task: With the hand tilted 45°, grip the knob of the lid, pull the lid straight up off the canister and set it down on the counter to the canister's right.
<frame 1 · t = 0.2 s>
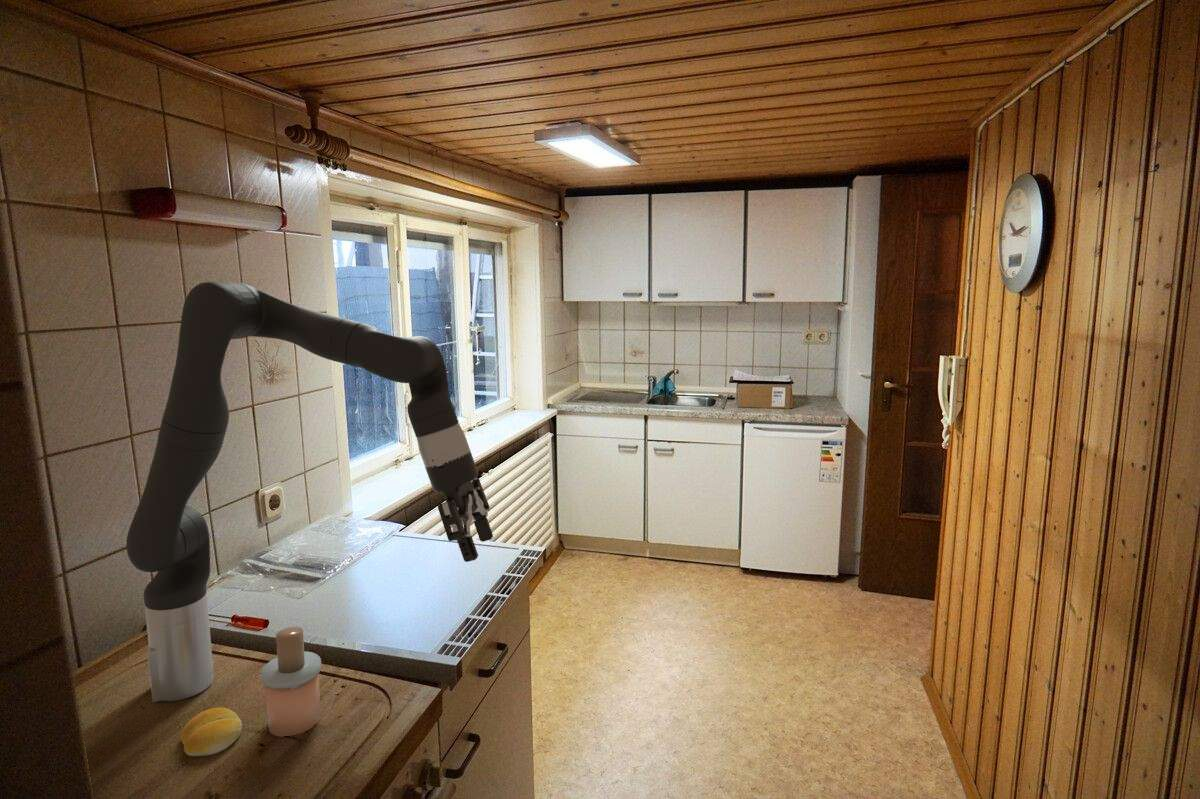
hand: (479, 549, 104), 31 cm above the countertop, tool tilted 20°, fingers open, 8 cm apart
bread roll: (211, 740, 103), on the countertop
lid: (292, 677, 106), point 8 cm above the countertop, touching canister
canister: (294, 720, 107), on the countertop
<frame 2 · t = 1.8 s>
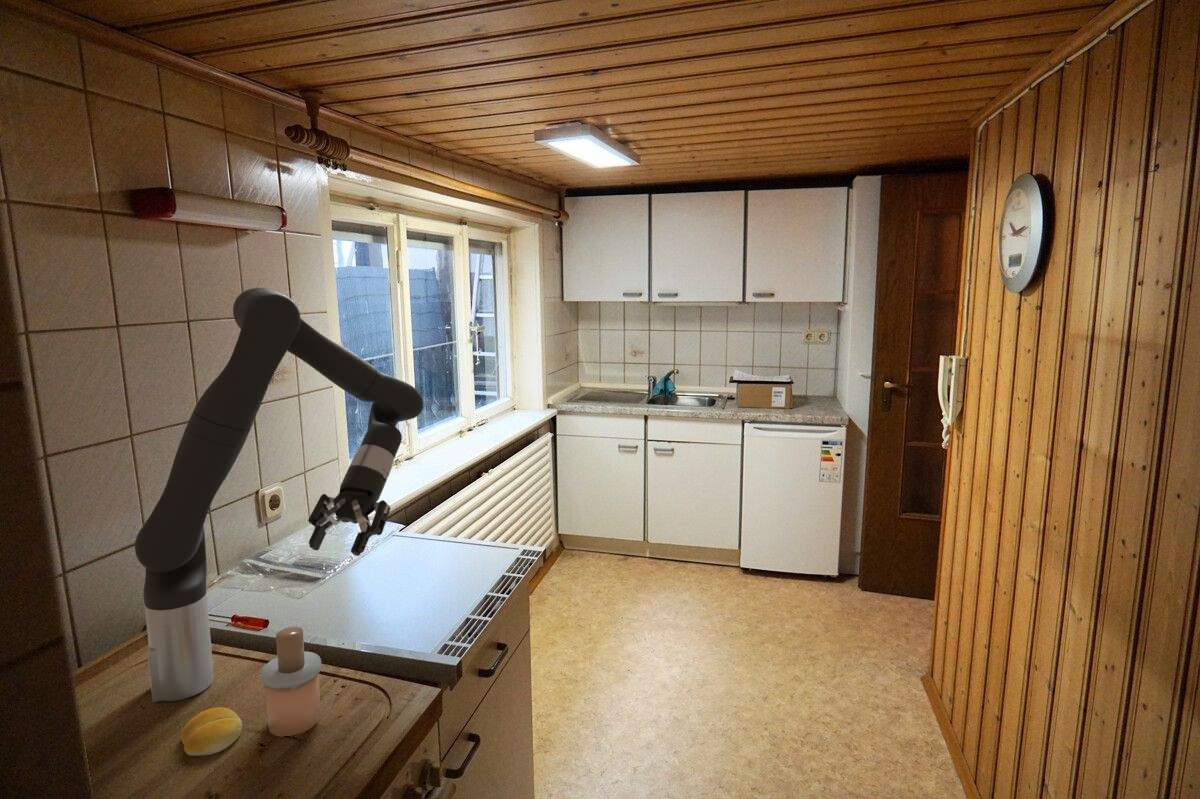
hand: (333, 551, 115), 25 cm above the countertop, tool tilted 45°, fingers open, 8 cm apart
nothing on the countertop moved.
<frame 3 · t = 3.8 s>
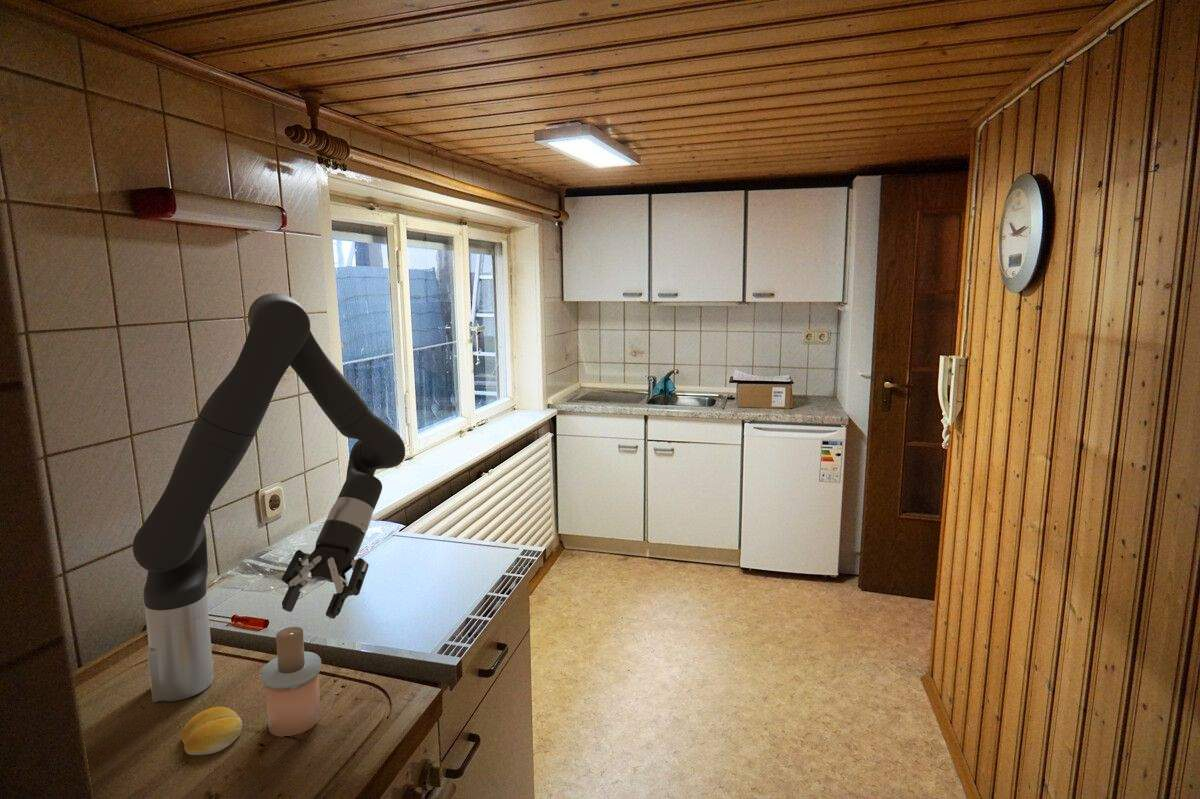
hand: (308, 613, 109), 17 cm above the countertop, tool tilted 45°, fingers open, 8 cm apart
nothing on the countertop moved.
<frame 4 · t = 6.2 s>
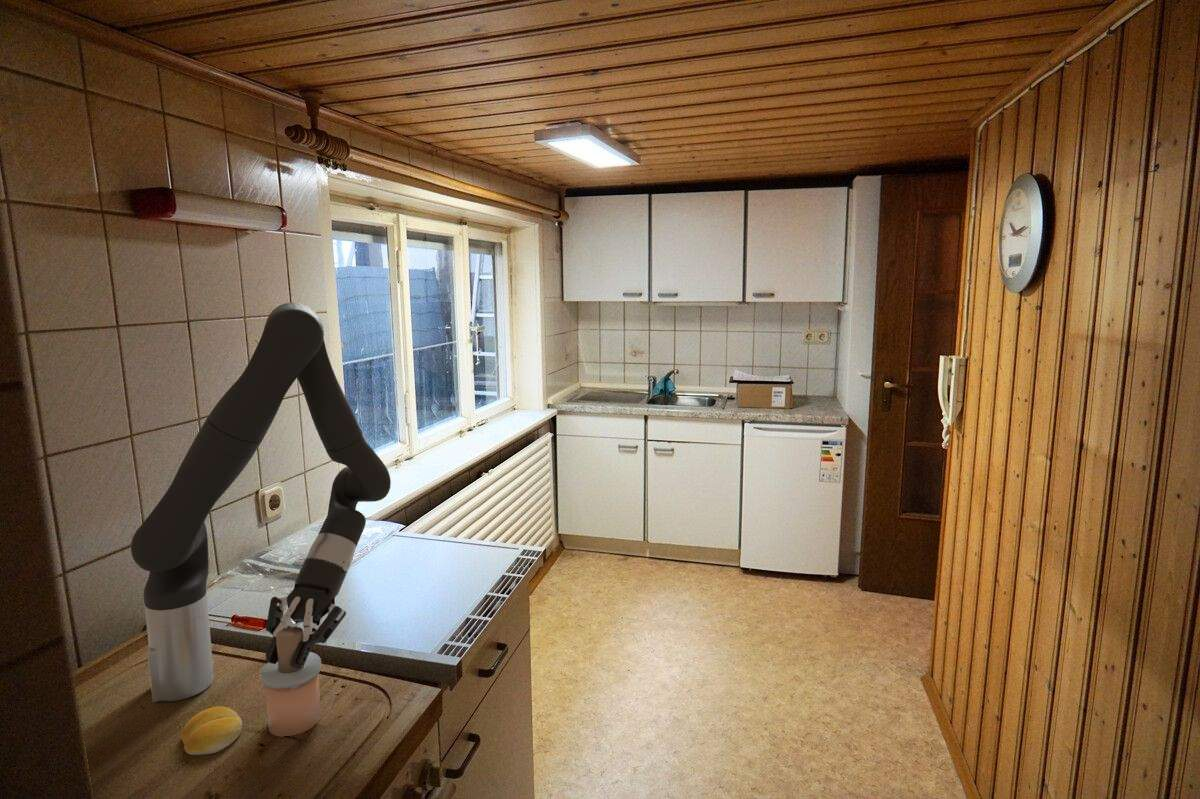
hand: (282, 664, 104), 12 cm above the countertop, tool tilted 45°, fingers closed on lid, 4 cm apart
lid: (292, 677, 106), point 8 cm above the countertop, touching canister, gripper
everything else where it was.
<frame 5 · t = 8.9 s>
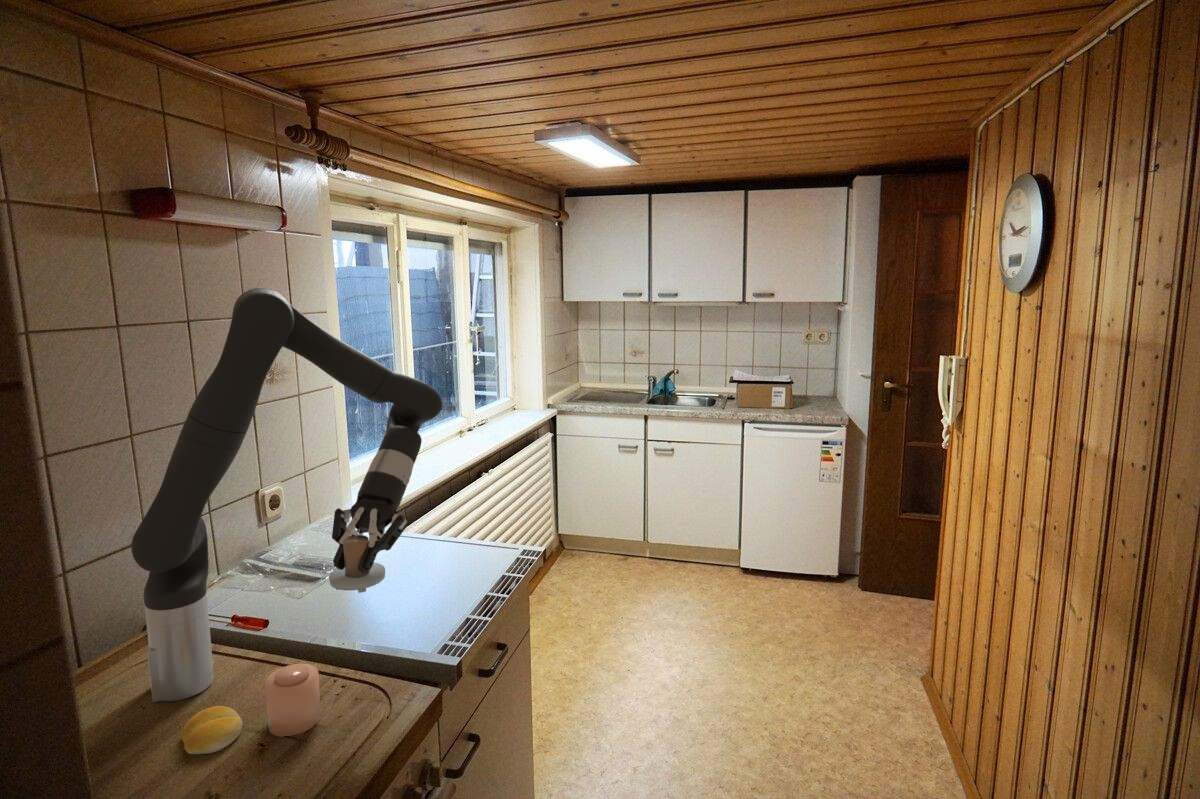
hand: (350, 569, 107), 26 cm above the countertop, tool tilted 45°, fingers closed on lid, 4 cm apart
lid: (358, 583, 109), point 22 cm above the countertop, touching gripper
everything else where it was.
when the fingers open (5 cm above the countertop, at t = 12.1 s): lid drops 1 cm, on the countertop.
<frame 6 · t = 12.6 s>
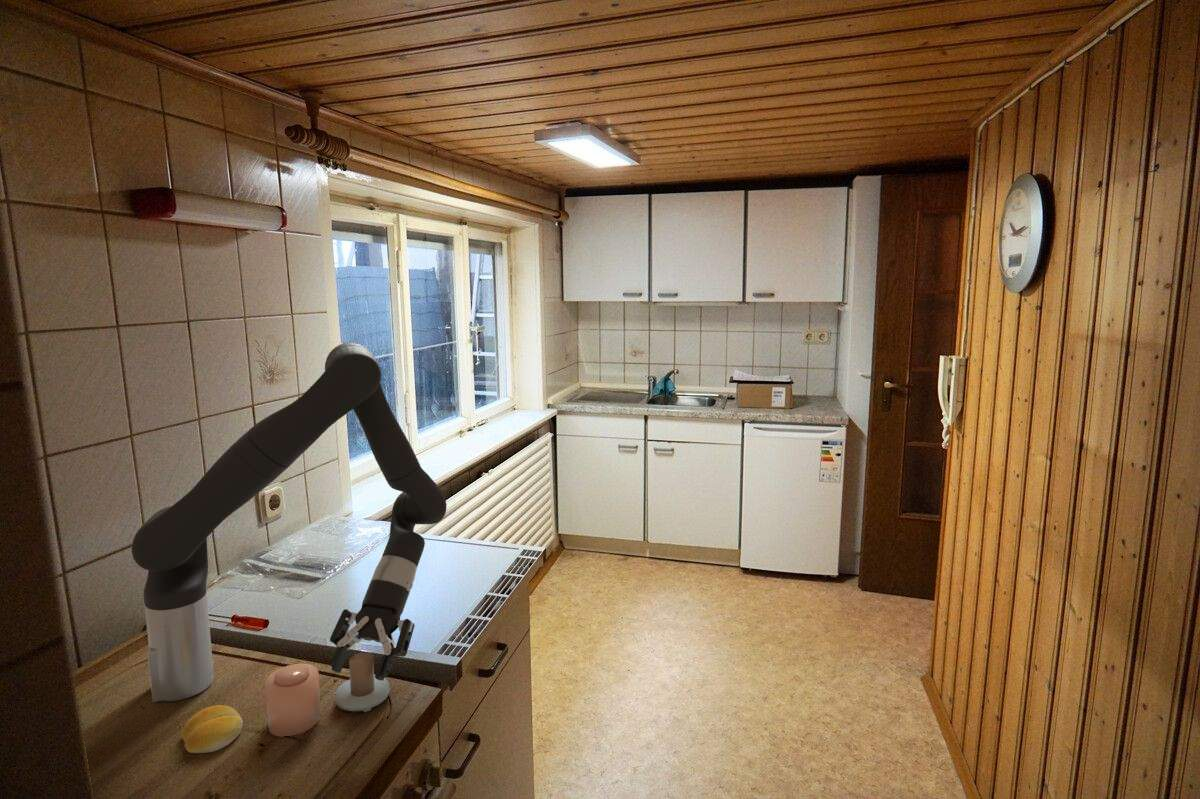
hand: (357, 675, 111), 6 cm above the countertop, tool tilted 45°, fingers open, 8 cm apart
lid: (362, 699, 113), on the countertop
everything else where it was.
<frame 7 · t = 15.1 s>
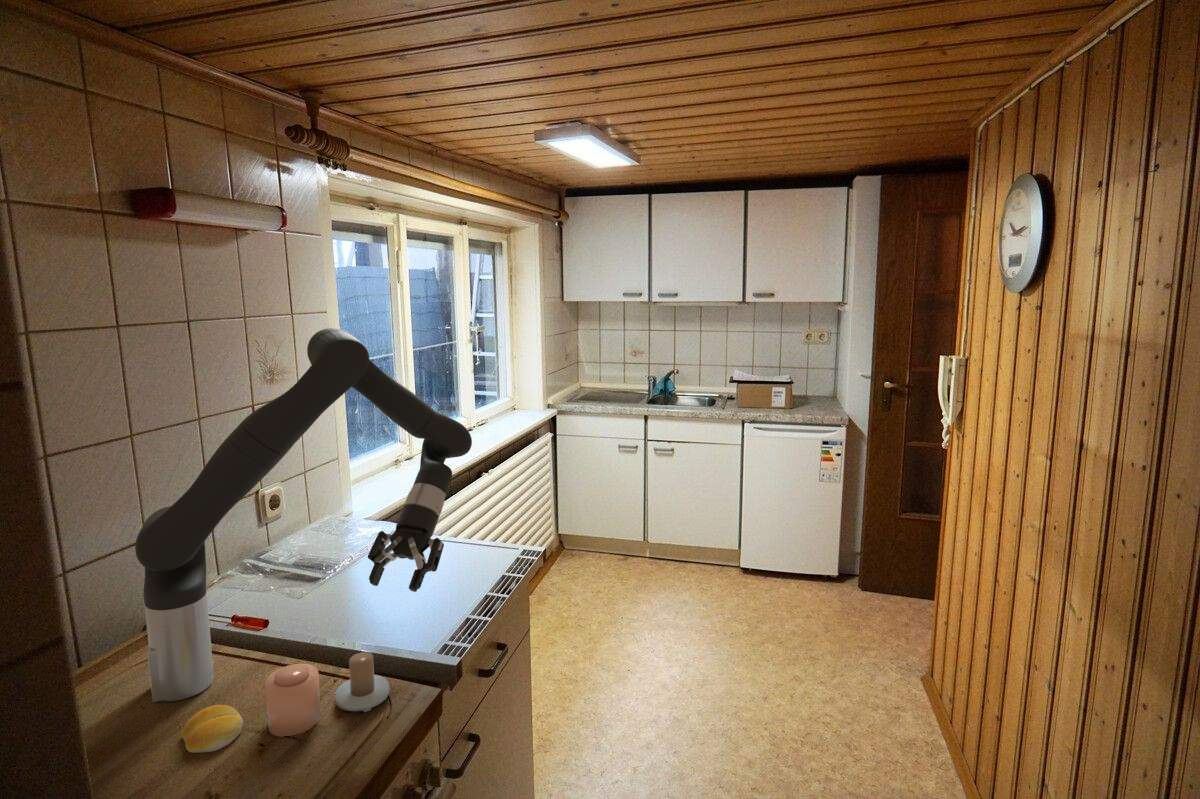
hand: (392, 587, 122), 16 cm above the countertop, tool tilted 45°, fingers open, 8 cm apart
nothing on the countertop moved.
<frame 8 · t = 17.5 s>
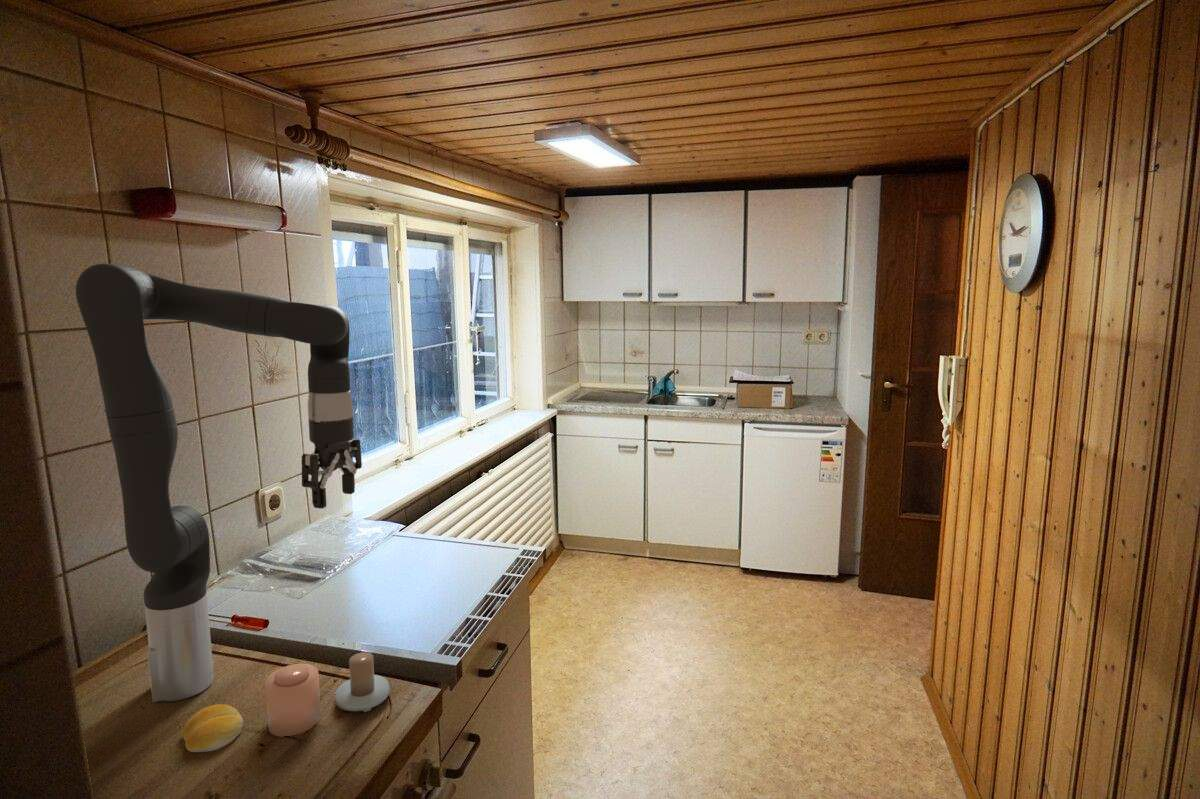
hand: (334, 500, 119), 33 cm above the countertop, tool pointing down, fingers open, 8 cm apart
nothing on the countertop moved.
at the end: lid inside the target area (0.1 cm from its centre), on the countertop; lid tilted 0°; the gripper is holding nothing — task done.
